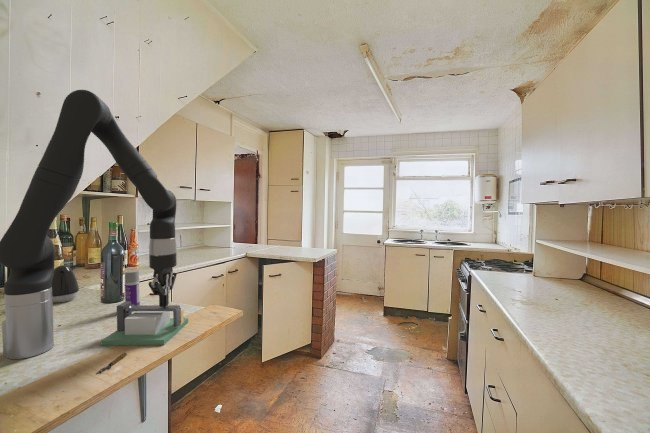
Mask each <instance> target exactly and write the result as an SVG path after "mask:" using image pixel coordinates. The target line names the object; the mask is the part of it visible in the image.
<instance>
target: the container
mask: <svg viewBox="0 0 650 433" xmlns="http://www.w3.org/2000/svg"><path fill="white" fill-rule="evenodd" d="M140 287H141V286H140V270H138V269H133V270H131V269H130V270H125V272H124V292H125V293H124V297H125V298H124V300H125V301H124V302H131V305H132V304H134V305H135V306H140V305H141V298H140Z"/></svg>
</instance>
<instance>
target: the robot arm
mask: <svg viewBox="0 0 650 433" xmlns="http://www.w3.org/2000/svg"><path fill="white" fill-rule="evenodd" d="M91 133H92V134H93V135H94V137H96V138H97V139H98V140H99V141H100V142H101V143H102V144H103V145H104V146H105V148H106V149H107V150H108V152H109V153H110V154H111V156H112V158H113V160H114V161H115V163H116V164H117V166H118V168H119V169H120V170H121V172H122V173H123V174H124V175H125V176H126V178H127V179H128V180H129V182H131V184H132V185H134V187H135V188H136V190H137V191H138V193H139V195H140V196H141V197H142V199H143V201H144V202H145V204H147V206H148V207H150V209H151V210H152V218H151V221H150V223H149V245H148V255H149V257H148V261H149V262H148V264H149V268H150V269H152V270H153V275H152V277H153V279H152V281H149V282H148V286H149V289H151V290H150V291H151V292H152V293H153V295H154V296H158V302H159V303H158V305H159V306H160V307H166V306H167V305H169V303H170V302H169V298H170V296H169V295H170V293H171V291H172V290H173V288H174V285H175V281H176V278H177V274H178V273H177V272H173V271H174V270H173V268H175V267H176V266H177V264H178V263H177V241H176V222H175V221H176V215H177V213H176V212H177V197H176V195H175V193H173V192H172V191H170V190H168V189H167V188H166V187H165V186H164V185H163V183H162V181H160V180H159V178H158V175H157V174H156V171H155V170H154V169H153V168H152V167H151V165H150V164H149V163H148V162H147V161H146V159H145V158H144V156H143V155H141V153H140V152H139V150H137V149H136V147H135V146H134V145H133V144H132V143H131V142H130V141H129V139H128V138H127V137H126V135H125V133H124V132H123V131H122V129H121V128H120V126H119V124H118V123H117V120H116V119H115V117H114V116H113V112H111V109H110V108H109V106H108V105H107V104H106V103H105V102H104V101H103V100H102V99H101V98H100V97H99V96H98V95H96V94H95V93H94V92H92V91H90V90H87V89H76V90H73V91H71V92H69V94H68V95H66V97H65V98H64V100H63V102H62V106H61V109H60V112H59V116H58V119H57V123H56V126H55V129H54V131H53V134H52V136H51V138H50V140H49V142H48V144H47V147H46V149H45V151H44V152H43V155H42V157H41V159H40V161H39V163H38V165H37V167H36V169H35V172H34V174H33V176H32V178H31V181H30V183H29V185H28V188H27V190H26V193H25V194H24V197H23V199H22V202H21V204H20V207H19V209H18V211H17V213H16V215H15V216H14V219H13V220H12V222H11V224H10V225H9V226H8V228H7V230H6V231H5V233H4V235H3V236H2V238H1V239H0V264H1V265H2V266H4V267H5V268H7V269H10V274H9V276H8V279H7V280H6V281H5V283H4V285H3V292H4V293H3V295H4V312H5V313H4V314H5V318H4V319H5V320H3V321H2V322H1V337H2V338H1V339H2V356H3V357H6V358H7V359H9V360H22V359H27V358H31V357H35V356H39V355H41V354H43V353H45V352H48V351H49V350H51V349H53V348H54V346H55V342H54V341H55V340H54V311H53V310H54V308H53V307H54V306H53V305H54V304H53V302H52V279H53V276H54V269H55V244H54V243H53V240H52V239H51V238H50V237H49V236H48V233H49V230H50V228H51V226H52V223H54V220H55V219H56V218H57V216H58V215H59V214H60V212H62V211H63V209H64V208H65V207H66V205H67V204H68V203H69V201H70V200H71V199H72V197H73V195H74V194H75V192H76V190H77V188H78V185H79V183H80V181H81V179H82V175H83V172H84V165H85V151H86V150H85V149H86V145H87V141H88V140H89V137H90V135H91Z"/></svg>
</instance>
